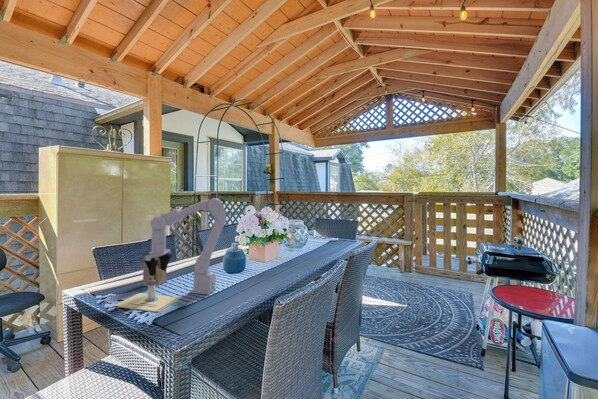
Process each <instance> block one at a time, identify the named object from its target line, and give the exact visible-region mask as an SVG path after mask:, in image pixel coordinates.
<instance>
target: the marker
mask: <svg viewBox="0 0 598 399" xmlns="http://www.w3.org/2000/svg"><path fill="white" fill-rule="evenodd" d="M155 284H156V280H149V281H148V287H147V294H148V301H153V300H155V295H156V287H155Z"/></svg>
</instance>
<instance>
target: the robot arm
mask: <svg viewBox="0 0 598 399" xmlns="http://www.w3.org/2000/svg"><path fill="white" fill-rule="evenodd" d="M199 211H205V212H207V211H209V212H210V213H211V214H212V216H213V218H214V219H215V220H214V223H213V226H212V228H211V229H210V233H209V235H208V237H207V239H206V242H205V244H204V247H203V249H202V251H201V253H200V256H198V257H197V258H196V260H195V263H194V266H193V269H194V271H193V289H191V290H190V291H189V293H190V294H199V295H200V294H201V295H209V294H211V293H212V292H214V291H215V290H216V289H217V288H216V278H217V277H216V273H214V272H211V270H210V267H209V266H210V260H211V259H212V255H213V253H214V250H215V248H216V246H217V243H218V241H219V238H220V236H221V233H222V231H223V229H224V226H225V224H226V221H227V215H226V211H225V206H224V204H223V203H222V201H221V200H220V199H219V198H217V197H213V198H210V199H205V200H202V201H201V200H200V201H198V202H197V203H194V204H192V205H190V206H187V207H185V208H183V209H180V208H171V209H170V211H167V212H165V213H164V212H162V213H160V215H157V216H155V217H154V218H152V219H151V221H150V226H151V251H152V252H150V251H149V252H150V254H149V255H147V256H145V260H144V262H145V263H146V265H147V267H148V270H149V273H150V275H153V276H154V275H155V273H156V266H157V263H158V260H155V259H154V258H157V257H159V258H160V263H161V270H164V271H165V270H166V271H167V268H168V264H169V262H170V259H171V258H172V254H171V249H170V248H166V247H167V245H166V243H167V238H166V237H167V232H166V230H167V228H166V227H167V226H168V227H169V226H171V225H174V224H175V223H178V222H181V221H183V219H184V217H186V216H188V215H191V214H194V213H195V212H199Z"/></svg>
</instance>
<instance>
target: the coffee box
mask: <svg viewBox="0 0 598 399" xmlns="http://www.w3.org/2000/svg"><path fill="white" fill-rule="evenodd" d="M150 252H152V250H150V251H147V252H144V253H143V259H142V260H143V262H142V265H143V266H142V270H143V272H142V275H143V276H142V277H143V278H142V285H143V287H147V288H148V281H149V280H156V284H155V288H156V287H157V286H160V285H162V284H163V283H164V284H165V283H166V282H167V269H166V270H165V271H164V270H161V263H160V258H159V257H157V258H154V259H155V260H158V263H157V266H156V273H155V275H154V276H153V275H150V273H149V270H148V267H147V265H146V263H145V262H144V260H145V256H147V255H149V254H150Z"/></svg>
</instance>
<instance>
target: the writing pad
mask: <svg viewBox="0 0 598 399" xmlns="http://www.w3.org/2000/svg"><path fill="white" fill-rule="evenodd" d="M179 300H181V297H177V296H168V295H161V294H155V300H153V301H148V293H142V292H139V293H136V294H134V295H132V296H130V297H128V298H127V299H125V300H122V301H120V302H118V303H116V304H114V305H113V307H114V306H118V307H117V308H124V309H131V310H138V311H146V312H151V313H152V312H154V313H160V312H162V311H163V310H165V309H167V308H168V307H169V306H171V305H173V304H174V303H176V302H177V301H179Z"/></svg>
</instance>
